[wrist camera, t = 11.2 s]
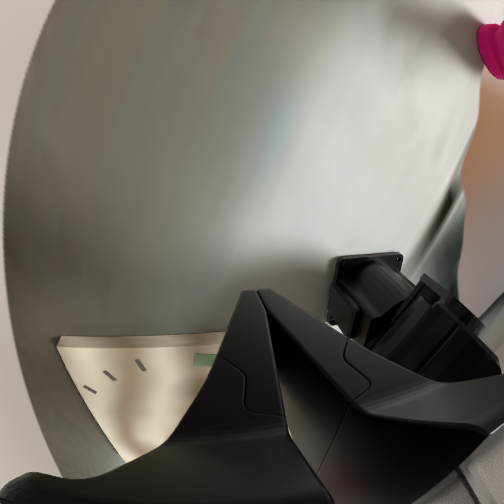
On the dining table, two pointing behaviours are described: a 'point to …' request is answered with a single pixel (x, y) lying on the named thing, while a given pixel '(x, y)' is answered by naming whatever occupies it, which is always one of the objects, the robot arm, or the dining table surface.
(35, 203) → the dining table surface
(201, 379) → the dial board
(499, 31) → the pepper mill
